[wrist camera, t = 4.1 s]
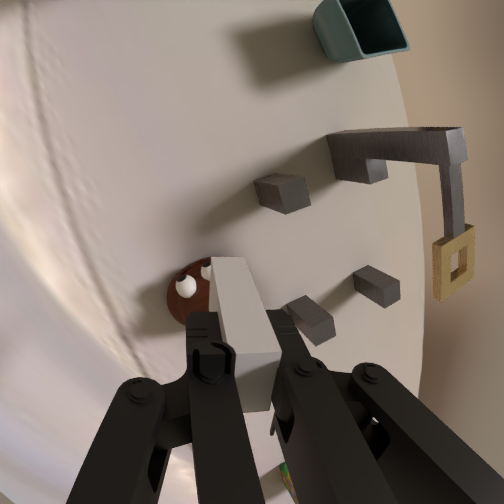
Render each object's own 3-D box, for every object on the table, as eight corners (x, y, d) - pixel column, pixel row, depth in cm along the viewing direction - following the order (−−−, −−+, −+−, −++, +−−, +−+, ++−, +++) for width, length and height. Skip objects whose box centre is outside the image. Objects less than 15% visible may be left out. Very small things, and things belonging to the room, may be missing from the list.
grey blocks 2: (355, 290, 47) (384, 308, 40) (331, 157, 40) (365, 158, 33) (370, 282, 47) (400, 299, 41) (349, 152, 40) (384, 153, 34)
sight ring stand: (340, 251, 44) (445, 304, 27) (316, 137, 38) (435, 133, 21) (372, 237, 45) (477, 279, 28) (353, 128, 40) (471, 125, 22)
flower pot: (320, 74, 36) (363, 59, 28) (294, 16, 33) (331, -11, 24) (367, 62, 38) (412, 50, 29) (344, 9, 34) (384, -12, 26)
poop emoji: (186, 333, 40) (201, 377, 31) (151, 279, 36) (156, 315, 28) (254, 294, 41) (285, 328, 33) (225, 237, 38) (252, 261, 30)
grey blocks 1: (291, 321, 44) (315, 346, 38) (253, 180, 37) (278, 185, 31) (309, 312, 45) (336, 335, 39) (276, 173, 38) (304, 176, 31)
